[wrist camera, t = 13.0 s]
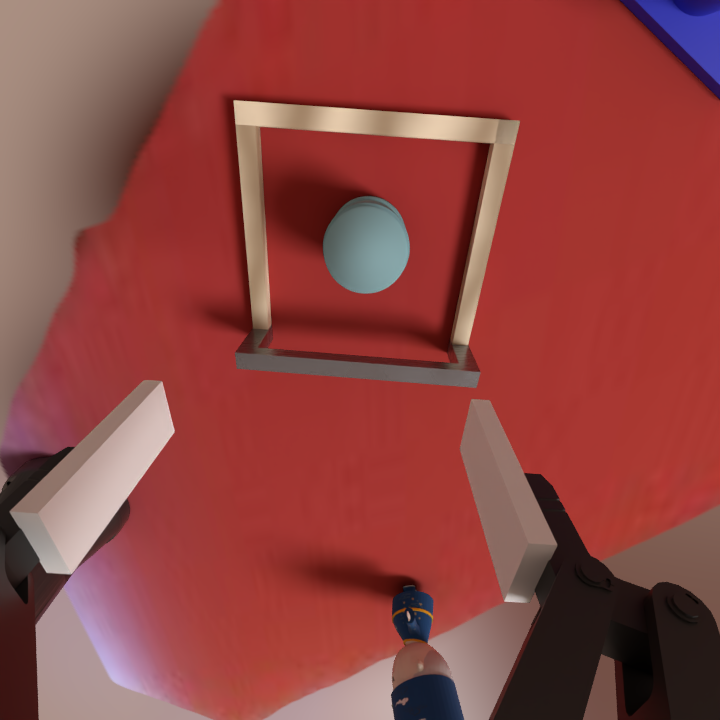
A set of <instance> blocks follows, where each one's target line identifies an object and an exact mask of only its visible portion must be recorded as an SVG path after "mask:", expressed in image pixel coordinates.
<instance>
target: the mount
mask: <svg viewBox="0 0 720 720" xmlns="http://www.w3.org/2000/svg"><path fill="white" fill-rule="evenodd" d="M620 1H621V2H622V3H623V4H624V5H625V6H626V7H627V8H628V9H629V10H630V11H631V12H632V13H633V14H634V15H635V16H636V17H637V18H638V19H639V20H640V21H641V22H642V23H643V24H644V25H645V26H646V27H647V28H648V29H649V30H650V31H651V32H652V33H653V34H654V35H655V36H656V37H657V38H658V39H659V40H660V41H661V42H662V43H663V44H664V45H666V46H667V47H668V48H669V49H670V50H671V51H672V52H673V53H674V54H675V55H676V56H677V57H678V58H679V59H680V60H681V61H682V62H683V63H684V64H685V65H686V66H687V67H688V68H689V69H690V70H691V71H692V72H693V73H694V74H695V75H696V76H697V77H698V78H699V79H700V80H701V81H702V82H703V83H704V84H705V85H706V86H707V87H708V88H709V89H710V90H711V91H712V92H713V93H714V94H715V95H716V96H717V97H718V98H719V99H720V0H620Z"/></svg>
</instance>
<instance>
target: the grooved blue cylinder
mask: <svg viewBox="0 0 720 720" xmlns="http://www.w3.org/2000/svg"><path fill="white" fill-rule="evenodd" d="M409 250H410V245H409V238H408V234H407V231H406V228H405V225H404V222H403V219H402V217H401V215H400V213H399V212H398V210H397V209H396V208H395V207H394V206H393V205H392V204H391V203H389V202H388V201H386V200H384V199H382V198H379V197H375V196H362V197H358V198H355V199H352V200H350V201H349V202H347V203H346V204H345V205H344V206H342V208H341V209H340V210H339V211H338V213H337V214H336V215H335V217H334V218H333V219H332V221H331V222H330V224H329V226H328V228H327V230H326V232H325V235H324V240H323V255H324V259H325V263H326V266H327V268H328V270H329V272H330V274H331V275H332V277H333V278H334V279H335V280H336V281H337V282H338V283H339V284H340V285H342V286H343V287H345V288H346V289H348V290H351V291H353V292H357V293H375V292H379V291H381V290H384V289H385V288H387V287H389V286H390V285H392V284H393V283H394V282H395V281H396V280H397V279H398V278H399V276H400V275H401V273H402V272H403V270H404V268H405V266H406V264H407V261H408V257H409Z"/></svg>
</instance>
